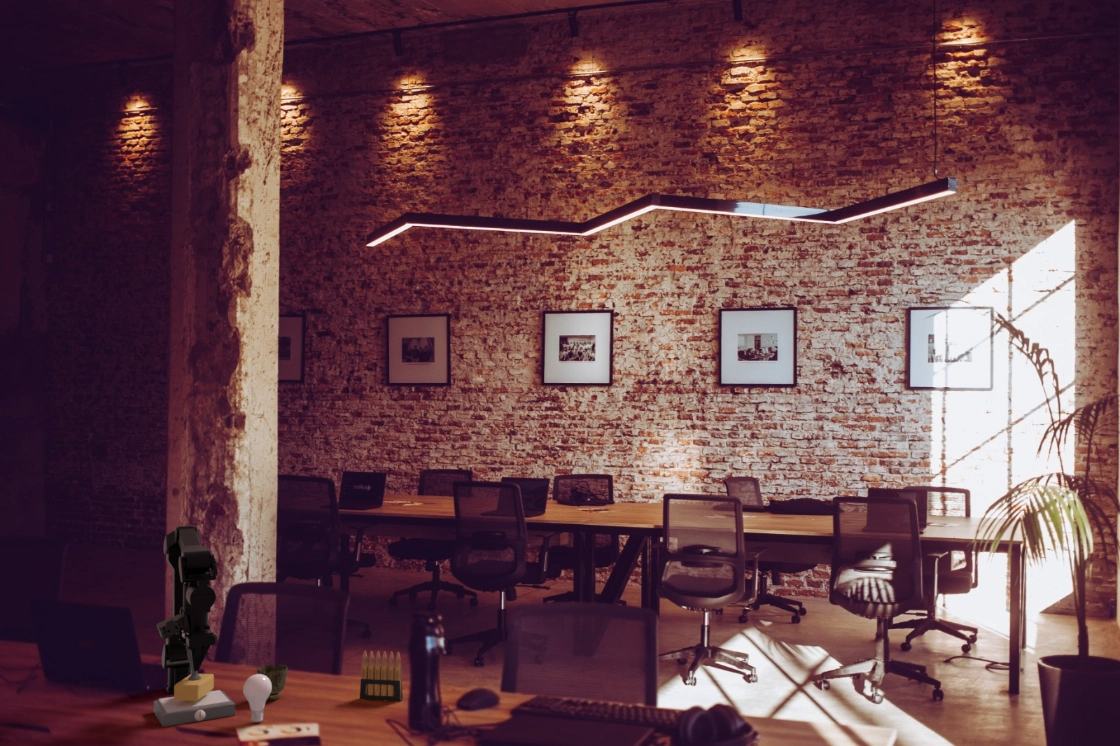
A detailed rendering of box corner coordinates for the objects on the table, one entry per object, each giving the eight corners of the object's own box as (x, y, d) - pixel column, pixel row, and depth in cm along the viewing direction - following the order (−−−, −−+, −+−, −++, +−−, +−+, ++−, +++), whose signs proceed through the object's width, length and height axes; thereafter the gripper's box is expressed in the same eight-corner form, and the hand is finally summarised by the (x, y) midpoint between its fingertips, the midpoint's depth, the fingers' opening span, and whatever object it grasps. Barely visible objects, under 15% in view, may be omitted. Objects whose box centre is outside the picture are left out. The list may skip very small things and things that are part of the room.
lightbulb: (245, 728, 215) (245, 679, 216) (240, 720, 221) (241, 672, 222) (273, 724, 218) (274, 675, 219) (268, 716, 224) (269, 669, 225)
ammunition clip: (359, 699, 238) (359, 651, 238) (362, 697, 240) (362, 649, 240) (400, 701, 236) (400, 652, 237) (402, 699, 238) (403, 651, 238)
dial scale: (153, 712, 228) (153, 698, 228) (222, 701, 236) (222, 688, 237) (163, 727, 216) (163, 713, 217) (235, 715, 225) (235, 702, 225)
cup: (292, 695, 242) (292, 663, 242) (280, 703, 234) (281, 670, 235) (263, 694, 242) (264, 662, 243) (251, 703, 235) (252, 670, 236)
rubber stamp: (198, 700, 222) (198, 648, 223) (173, 700, 222) (174, 648, 223) (214, 688, 232) (214, 639, 233) (190, 689, 232) (191, 639, 233)
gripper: (153, 600, 232) (152, 665, 231) (166, 613, 216) (165, 683, 215) (201, 595, 238) (200, 659, 237) (217, 608, 222) (216, 676, 221)
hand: (194, 669), depth 227 cm, fingers closed on rubber stamp, 3 cm apart
